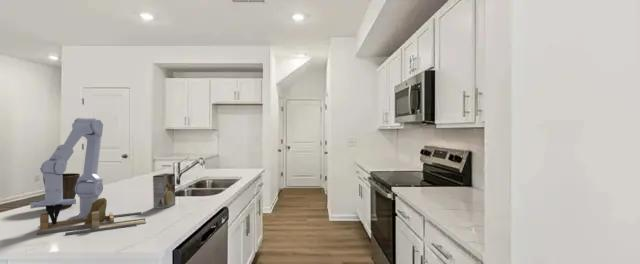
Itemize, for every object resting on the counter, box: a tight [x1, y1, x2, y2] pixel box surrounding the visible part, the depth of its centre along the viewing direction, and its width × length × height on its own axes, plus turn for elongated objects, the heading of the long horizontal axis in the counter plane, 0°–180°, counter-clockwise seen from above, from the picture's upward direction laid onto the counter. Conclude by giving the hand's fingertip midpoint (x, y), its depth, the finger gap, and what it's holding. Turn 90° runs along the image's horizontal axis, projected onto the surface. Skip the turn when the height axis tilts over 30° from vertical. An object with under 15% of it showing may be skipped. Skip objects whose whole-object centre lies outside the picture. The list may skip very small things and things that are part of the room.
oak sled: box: [37, 212, 115, 232], centre depth 148 cm, size 12×25×6 cm, turn 123°
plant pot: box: [42, 172, 81, 210], centre depth 178 cm, size 15×15×16 cm
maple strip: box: [91, 211, 147, 229], centre depth 148 cm, size 4×19×6 cm, turn 124°
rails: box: [36, 211, 146, 236], centre depth 148 cm, size 20×37×1 cm, turn 123°
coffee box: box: [152, 172, 176, 209], centre depth 182 cm, size 9×6×16 cm
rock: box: [84, 197, 108, 224], centre depth 151 cm, size 11×9×10 cm
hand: (54, 224), depth 143 cm, fingers closed
